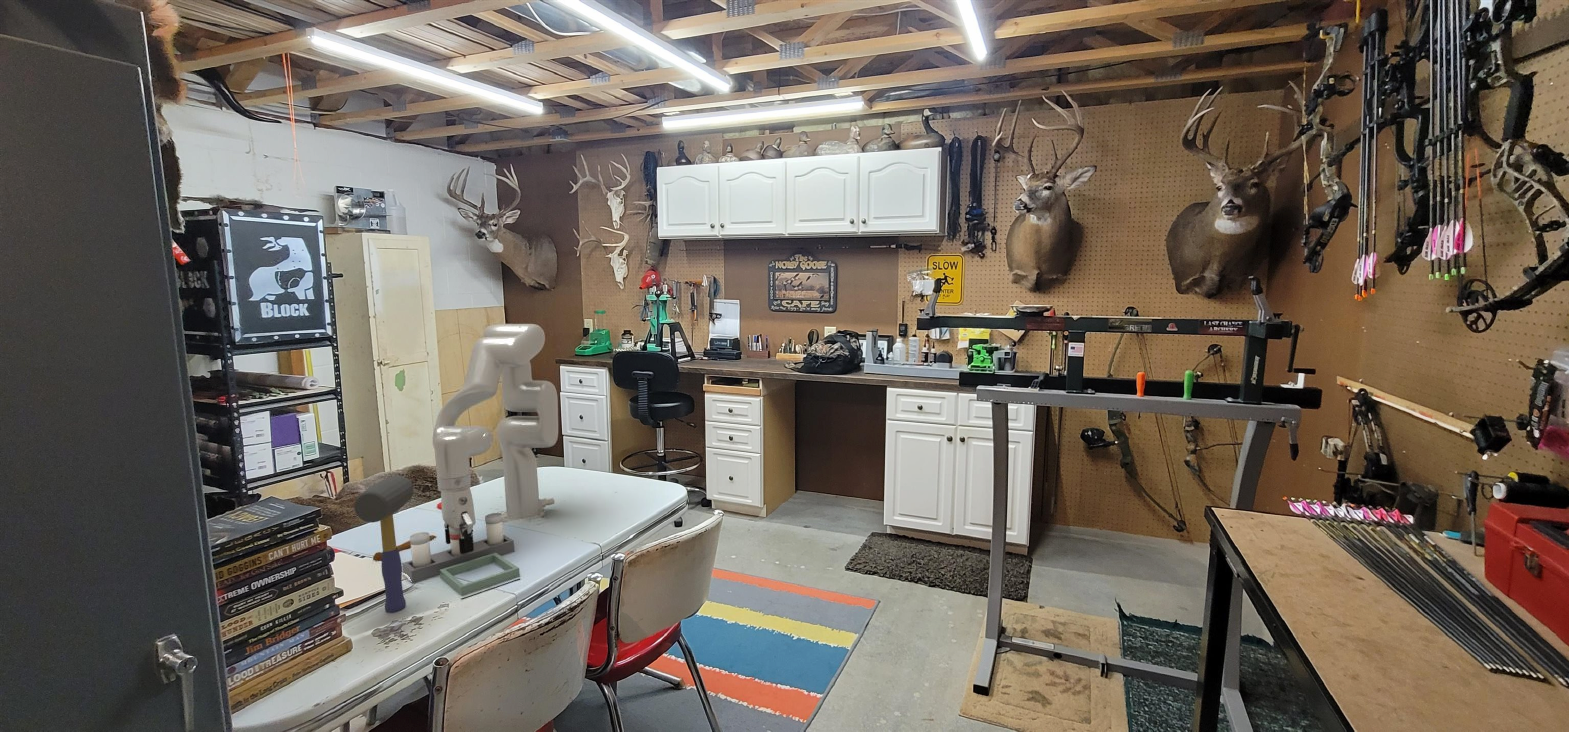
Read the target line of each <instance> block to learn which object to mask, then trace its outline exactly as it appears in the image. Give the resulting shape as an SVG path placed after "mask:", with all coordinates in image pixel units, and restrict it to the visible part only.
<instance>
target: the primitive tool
mask: <svg viewBox="0 0 1569 732" xmlns="http://www.w3.org/2000/svg"><path fill="white" fill-rule="evenodd" d="M429 537H430V540H431V541H433V540H435V539H436V538H437V536H436V535H435V534H434V535H433V534H429ZM434 538H435V539H434ZM432 539H433V540H432ZM396 547H397V549H398V551H399V553H400V552H403V551H406V550H411V544H410V540H408V541H406V542H404V543H402V544H399V545H396ZM372 556H373V557H372V561H374V560H377V561H376V562H382V552H381V551H377V552H375V553H374V555H372Z"/></svg>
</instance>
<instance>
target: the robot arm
mask: <svg viewBox="0 0 1569 732" xmlns="http://www.w3.org/2000/svg"><path fill="white" fill-rule="evenodd" d="M545 341H546V335H545V331H544V330H543V328H542V326H540V325H538V324H534V323H498V324H491V325H488V326H487V327H486V328H485V329H484V331H483V337H481V338H479V339H477V340H476V341H474V344H473V346H472V350H471V353H470V358H469V361H468V366H467V369H466V374H465V377H464V382H463V385H462V387H461V388H460V389H459V390H458V391H457V392H456V393H454V394H453V395H452V396H451V397H450V398H449V399H448V400H447V401H446V402H445V404H444V405H443V406H442V408H440V410H439V412H438V415H437V416H436V417H437V418H436V421H435V425H434V429H433V434H432V446H433V449H434V456H435V467H436V470H435V471H436V480H437V490H438V491H439V492H440V502H441V506H442V509H441V513H442V514H441V515H442V520H443V522H444V525H443V527H444V535H445V544H447V545H451V542H450V533H449V526H451V527H453V528H454V529H457V530H458V532H459V535H460V538H459V549H460V554H464V553H468V552H471V551H473V550H474V545H473V543H474V529H473V528H474V526H475V525H476V515H475V506H474V500H473V495H472V491H471V488H470V487H472V477H471V467H470V466H471V465H470V463H471V462H470V458H471V457H476V456H481V455H483V454H484V453H485V454H486V452H488V451H489V450H490V449H491V447H492V445H493V442H494V435H493V433H492V431H491V430H490V429H489V428H487V427H484V426H481V425H480V426H479V425H456V422H457V421H458V420H459V418H460V417H461V415H463V413H465V412H466V411H468V409H470V408H472V407H474V406H477V405H479V404H481V403H483V402H485V401H488V400H490V399H491V398H494V397H495V396H496V394H497V393H498V389H499V385H500V379H501V402H502V406H503V408H504V409H505V410H507V411H509V412H515V413H516V412H518V413H520V412H521V413H523V412H524V413H537V414H538V415H534V416H533V415H531V416H530V415H513V416H508V417H505V418H503V419H501V421H499V423H498V425H497V429H496V430H497V432H496V434H497V439H498V442H499V445H500V447H499V448H500V450H501V456H502V465H503V466H502V467H503V469H502V470H503V477H504V478H503V479H504V480H503V481H504V494H505V495H504V496H505V507H506V508H505V509H506V511H504V512H503V513H501V514H502V517H503V521H502V522H504V523H508V522H521V521H522V522H523V521H527V520H532V519H535V518H543V517H544V516H545V515H546V510H545V507H546V506H552V505H554V504H555V499H554V498H553V497H551V498H547V497H544V498H540V497H539V496H540V495H539V478H538V464H537V462H538V461H537V458H536V455H535V454H534V452H533V450H532V448H534V449H535V448H542V449H543V448H550V447H553V446H554V445H556V443H557V441H558V437H559V405H558V404H559V399H558V393H557V389H556V387H555V386H556V385H554V384H553V383H552V382H551V381H548V380H533V377H532V364H531V362H530V361H531V360H532V359H534V358H535V357H536V355H538V354H539V353H540V351H542V350H543V348H544V345H545ZM462 524H465V525H463V526H460V525H462ZM465 528H466V530H464V532H462V529H465Z"/></svg>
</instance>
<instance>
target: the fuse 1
mask: <svg viewBox="0 0 1569 732" xmlns="http://www.w3.org/2000/svg"><path fill="white" fill-rule="evenodd" d="M429 536H430V533H429V532H428V531H423V532H422V531H420V532H416V533H413V534H411V535H409V541H410V544H411V548H410V550H411V552H410V553H411V560H412V563H413V568H414V569H415V568H419V567H422V566H426V565H429V564H431V555H432V553H431V546H430V545H431V543H430V542H431V541H430V537H429Z"/></svg>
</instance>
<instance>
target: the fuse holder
mask: <svg viewBox="0 0 1569 732" xmlns="http://www.w3.org/2000/svg"><path fill="white" fill-rule="evenodd" d="M503 537H504V542H503V543H499V544H496V545H493V546H489V545H488V544H487V538H485V539H480V540H478V541H473V545H474V550H473V551H471V552H469V553H466V554H462V555H459V556H456V557H453V556H452V554H451V548H449V549H446V550H443V551H440V552H439V551H438V552H437V553H436V552H435V553H433V554H432V553H431V564H429V565H426V566H422V567H419V568H415V569H414V568H413V563H412V559H411V560H408V561H406V562H405V561H404V562H401V564H402V574H403V573H405V574H407V575H408V576H409V577H410V579H411V581H412V583H411V584H415V583H418V582H421V581H425V580H428V579H431V578H432V579H433V578H434V577H437V576H440V570H441V569H444V568H447V567H451V566H454V565H457V564H460V563H464V562H467V561H470V560H473V559H477V558H480V557H483V556H486V555H490V554H493V553H497V554H499V555H500V556H502V557H503V556H505V555H509V554H512V553H514V552H515V541H514V539H512V538H510V537H508V536H507V535H505V534H504V533H503Z"/></svg>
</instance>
